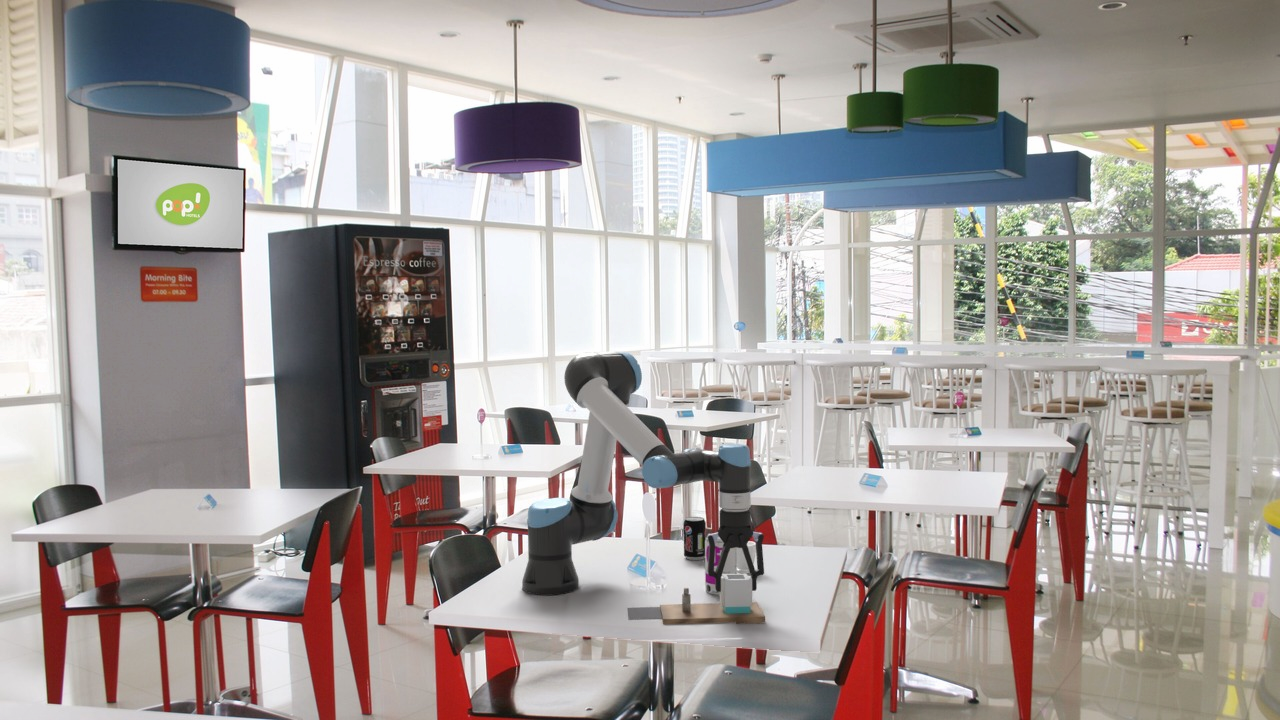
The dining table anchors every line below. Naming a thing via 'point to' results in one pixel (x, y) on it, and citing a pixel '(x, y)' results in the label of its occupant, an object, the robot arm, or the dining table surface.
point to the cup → (741, 559)
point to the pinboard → (706, 613)
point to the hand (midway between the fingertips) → (736, 604)
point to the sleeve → (736, 593)
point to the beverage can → (694, 538)
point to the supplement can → (728, 568)
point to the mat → (644, 613)
